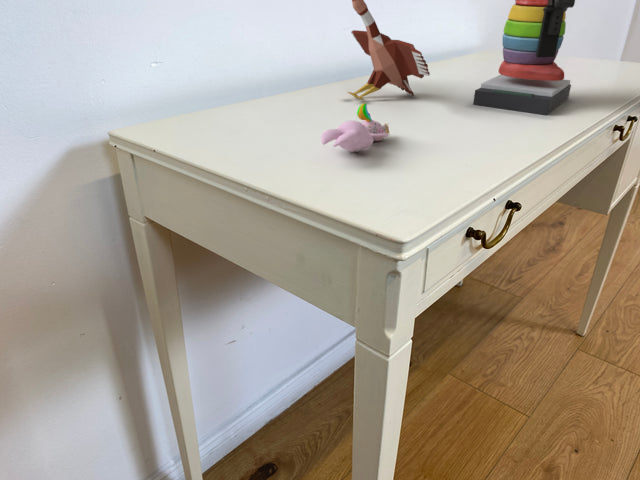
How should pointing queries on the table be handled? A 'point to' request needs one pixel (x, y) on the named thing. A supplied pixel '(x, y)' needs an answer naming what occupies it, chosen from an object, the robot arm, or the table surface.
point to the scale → (522, 94)
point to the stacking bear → (528, 44)
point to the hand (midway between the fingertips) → (532, 52)
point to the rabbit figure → (356, 132)
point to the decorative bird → (386, 56)
